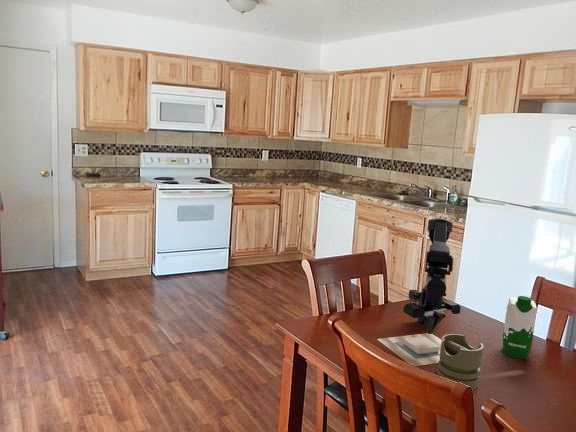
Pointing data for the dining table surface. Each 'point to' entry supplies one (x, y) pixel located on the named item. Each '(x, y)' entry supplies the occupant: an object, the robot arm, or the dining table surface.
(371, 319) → the dining table surface
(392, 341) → the board
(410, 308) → the robot arm
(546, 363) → the dining table surface
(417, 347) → the tile
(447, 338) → the piston
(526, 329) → the milk carton
